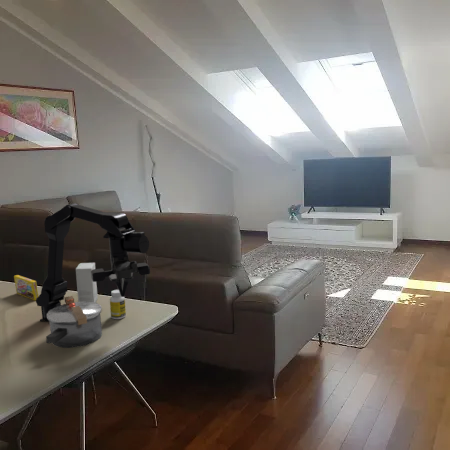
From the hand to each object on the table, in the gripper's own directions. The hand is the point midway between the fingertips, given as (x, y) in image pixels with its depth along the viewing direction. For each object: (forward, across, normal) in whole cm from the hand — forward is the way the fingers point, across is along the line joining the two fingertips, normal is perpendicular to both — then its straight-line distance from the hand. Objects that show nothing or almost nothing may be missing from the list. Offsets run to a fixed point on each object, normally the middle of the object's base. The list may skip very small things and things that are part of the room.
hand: (122, 296), depth 157 cm
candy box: (+12, -32, +56) cm, 65 cm away
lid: (+4, -16, 0) cm, 16 cm away
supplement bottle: (+12, 0, +14) cm, 19 cm away
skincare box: (+12, -8, +36) cm, 38 cm away
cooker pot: (+12, -17, 0) cm, 21 cm away
